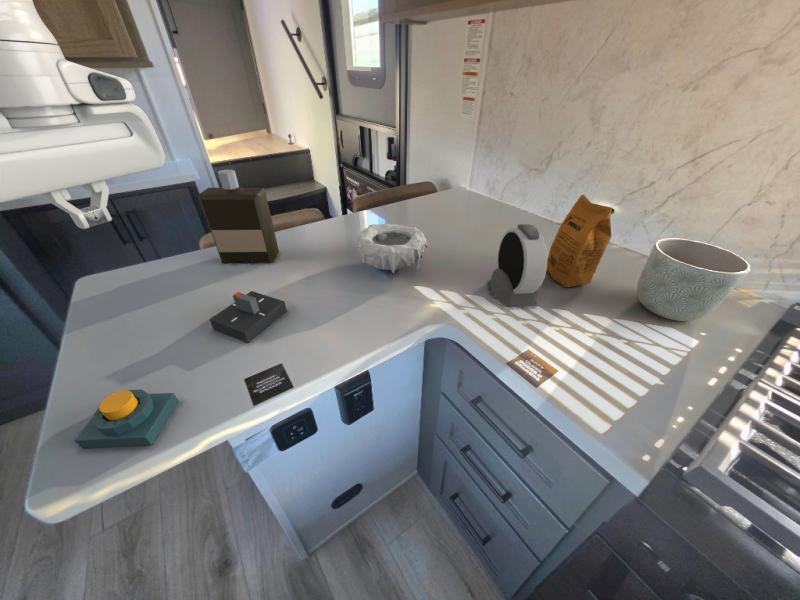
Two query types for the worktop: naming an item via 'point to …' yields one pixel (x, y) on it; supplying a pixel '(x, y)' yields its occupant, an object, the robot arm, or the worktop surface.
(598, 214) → the coffee package
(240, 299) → the grey rectangular block
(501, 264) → the alarm clock
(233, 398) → the worktop surface
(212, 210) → the bottle
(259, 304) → the dark grey flat block
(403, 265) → the bowl
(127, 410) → the trigger button
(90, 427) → the teal button mount
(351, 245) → the worktop surface
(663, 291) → the planter
